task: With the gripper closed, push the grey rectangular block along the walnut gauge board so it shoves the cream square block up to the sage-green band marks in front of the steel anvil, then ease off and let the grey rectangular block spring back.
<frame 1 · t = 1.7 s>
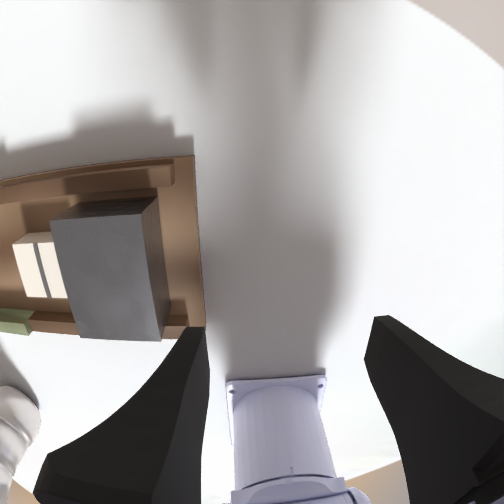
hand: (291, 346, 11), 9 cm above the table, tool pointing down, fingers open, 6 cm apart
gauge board: (57, 251, 19), on the table
cream square block: (57, 257, 18), point 1 cm above the table, touching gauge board
grey rectangular block: (114, 269, 16), point 3 cm above the table, slide at 0.0 cm
plastic bottle: (22, 398, 25), on the table
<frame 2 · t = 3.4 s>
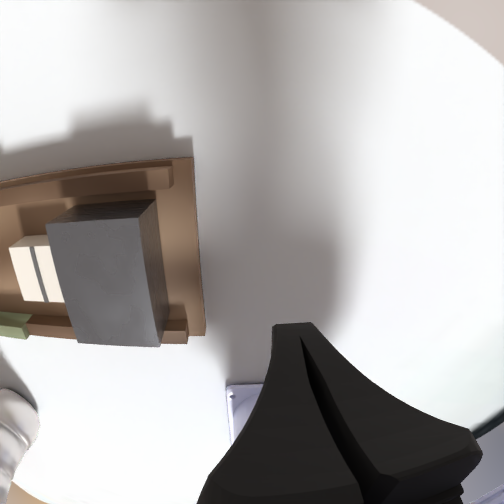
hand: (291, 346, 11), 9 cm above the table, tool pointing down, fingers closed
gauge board: (55, 255, 18), on the table
cream square block: (54, 260, 17), point 1 cm above the table, touching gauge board
grey rectangular block: (112, 273, 16), point 3 cm above the table, slide at 0.0 cm
plastic bottle: (21, 401, 25), on the table
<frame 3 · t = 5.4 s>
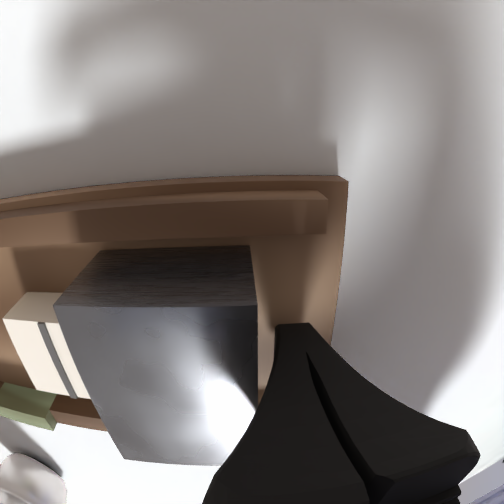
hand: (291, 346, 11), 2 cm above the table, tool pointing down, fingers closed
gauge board: (88, 317, 12), on the table
cream square block: (77, 330, 11), point 1 cm above the table
grey rectangular block: (177, 368, 10), point 3 cm above the table, slide at 1.1 cm, touching gripper
plastic bottle: (40, 463, 18), on the table
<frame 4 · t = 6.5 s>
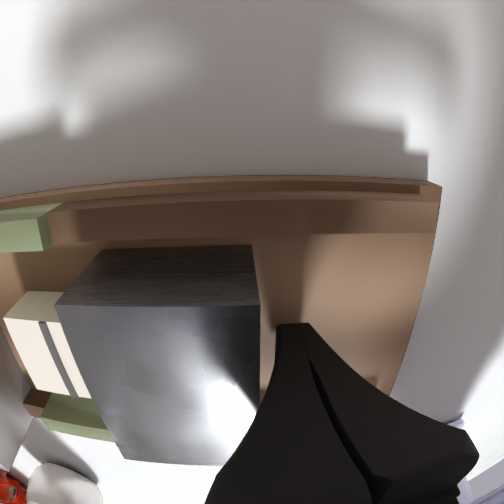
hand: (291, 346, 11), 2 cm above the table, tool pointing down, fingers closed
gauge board: (170, 319, 12), on the table
cream square block: (78, 330, 11), point 1 cm above the table, touching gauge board, grey rectangular block
grey rectangular block: (178, 368, 10), point 3 cm above the table, slide at 4.8 cm, touching gripper, cream square block
plastic bottle: (72, 472, 19), on the table
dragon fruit: (7, 473, 21), on the table
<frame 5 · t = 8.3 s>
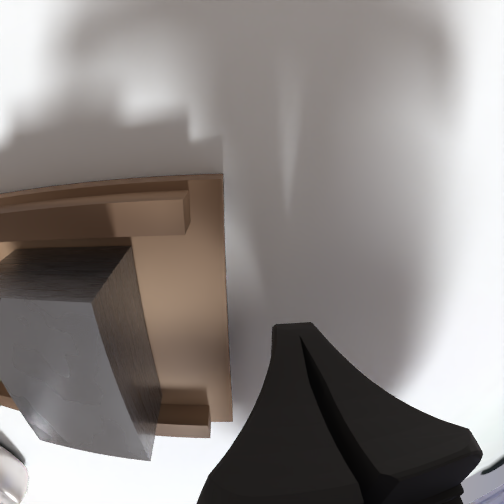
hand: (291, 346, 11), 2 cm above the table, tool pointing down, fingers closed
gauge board: (19, 309, 12), on the table
grey rectangular block: (72, 359, 9), point 3 cm above the table, slide at 1.0 cm
plastic bottle: (6, 450, 18), on the table
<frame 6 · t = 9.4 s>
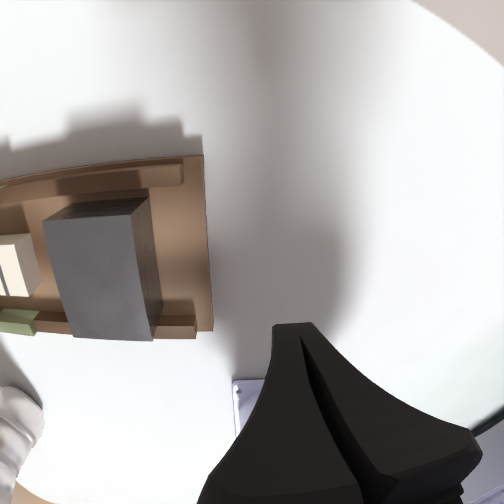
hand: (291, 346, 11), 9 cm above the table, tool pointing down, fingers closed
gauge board: (63, 251, 19), on the table
cream square block: (16, 258, 18), point 1 cm above the table, touching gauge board
grey rectangular block: (106, 269, 16), point 3 cm above the table, slide at 1.0 cm
plastic bottle: (25, 399, 25), on the table
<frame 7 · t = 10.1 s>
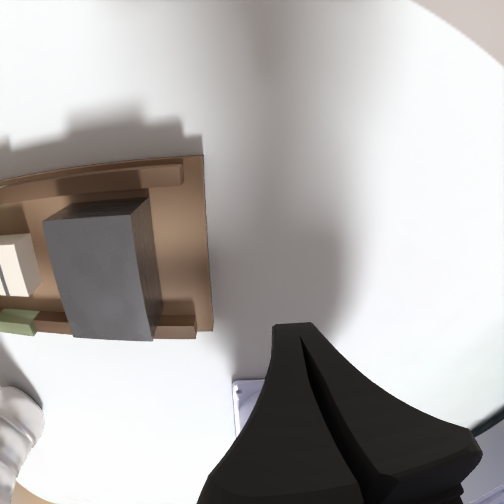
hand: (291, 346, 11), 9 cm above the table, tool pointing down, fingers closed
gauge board: (63, 251, 19), on the table
cream square block: (16, 258, 18), point 1 cm above the table, touching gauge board
grey rectangular block: (106, 269, 16), point 3 cm above the table, slide at 1.0 cm
plastic bottle: (25, 399, 25), on the table
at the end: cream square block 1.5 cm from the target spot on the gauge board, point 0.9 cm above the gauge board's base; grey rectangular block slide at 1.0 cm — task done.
